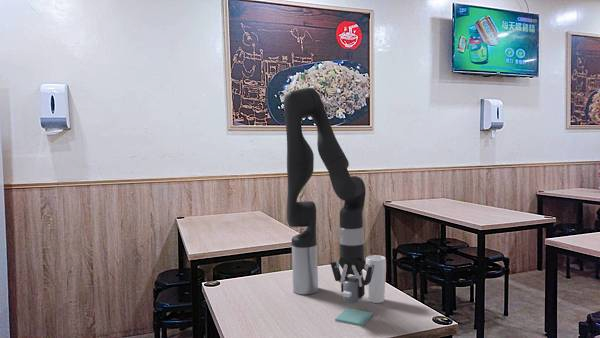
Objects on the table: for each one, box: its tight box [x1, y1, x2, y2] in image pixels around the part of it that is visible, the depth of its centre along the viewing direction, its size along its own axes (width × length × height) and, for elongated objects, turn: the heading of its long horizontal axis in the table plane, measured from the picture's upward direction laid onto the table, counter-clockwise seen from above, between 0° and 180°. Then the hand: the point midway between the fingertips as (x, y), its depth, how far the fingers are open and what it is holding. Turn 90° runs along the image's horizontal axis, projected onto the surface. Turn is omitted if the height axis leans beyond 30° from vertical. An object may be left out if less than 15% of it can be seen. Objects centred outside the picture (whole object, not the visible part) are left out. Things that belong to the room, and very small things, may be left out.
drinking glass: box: [365, 254, 387, 304], centre depth 141 cm, size 7×7×15 cm
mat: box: [334, 307, 374, 327], centre depth 128 cm, size 9×9×1 cm
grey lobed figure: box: [341, 275, 362, 304], centre depth 126 cm, size 9×4×6 cm, turn 151°
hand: (352, 295), depth 127 cm, fingers closed on grey lobed figure, 4 cm apart
